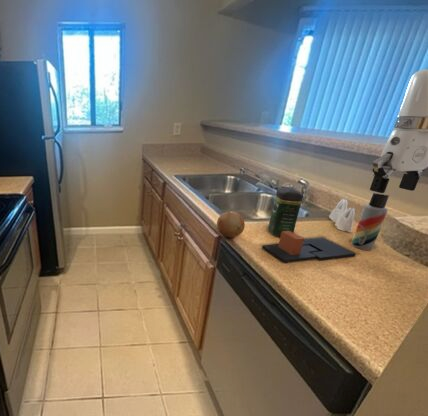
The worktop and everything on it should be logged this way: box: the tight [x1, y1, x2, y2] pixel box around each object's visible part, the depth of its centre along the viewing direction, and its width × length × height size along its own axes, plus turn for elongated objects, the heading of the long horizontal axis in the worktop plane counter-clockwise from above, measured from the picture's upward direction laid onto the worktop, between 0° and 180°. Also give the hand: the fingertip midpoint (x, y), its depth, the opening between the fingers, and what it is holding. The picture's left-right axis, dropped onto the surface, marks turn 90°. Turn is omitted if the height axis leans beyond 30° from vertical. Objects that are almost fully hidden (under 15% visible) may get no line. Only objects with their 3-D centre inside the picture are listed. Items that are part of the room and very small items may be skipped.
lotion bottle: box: [351, 192, 390, 251], centre depth 94 cm, size 6×6×20 cm
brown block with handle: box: [261, 231, 318, 264], centre depth 93 cm, size 16×10×7 cm, turn 100°
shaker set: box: [328, 198, 356, 233], centre depth 112 cm, size 12×4×11 cm, turn 162°
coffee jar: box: [267, 185, 304, 238], centre depth 105 cm, size 10×8×19 cm
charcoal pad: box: [302, 236, 357, 262], centre depth 96 cm, size 14×12×1 cm
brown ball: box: [216, 211, 246, 238], centre depth 105 cm, size 10×10×10 cm
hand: (391, 190), depth 74 cm, fingers open, 9 cm apart
